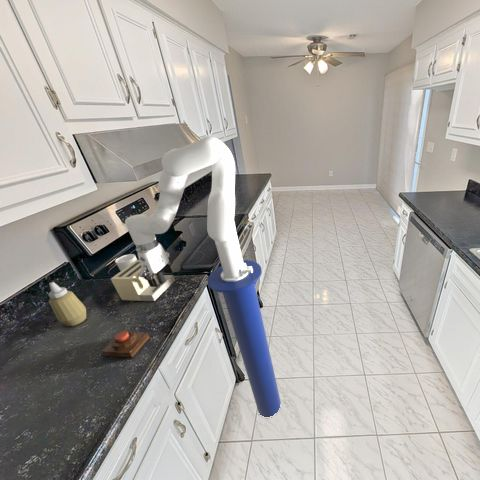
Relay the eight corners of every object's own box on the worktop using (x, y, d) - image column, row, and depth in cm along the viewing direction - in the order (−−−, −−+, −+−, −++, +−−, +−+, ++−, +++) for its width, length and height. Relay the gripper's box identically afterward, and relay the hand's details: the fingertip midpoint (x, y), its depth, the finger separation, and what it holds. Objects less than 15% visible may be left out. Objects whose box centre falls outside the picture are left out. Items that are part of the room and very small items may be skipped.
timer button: (132, 334, 84) (130, 330, 83) (123, 343, 81) (121, 339, 80) (122, 334, 84) (120, 330, 83) (113, 342, 81) (111, 339, 80)
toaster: (175, 280, 116) (167, 260, 111) (154, 301, 104) (144, 279, 99) (145, 280, 118) (136, 259, 113) (121, 300, 106) (110, 278, 101)
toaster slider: (167, 279, 111) (163, 270, 109) (163, 283, 109) (159, 274, 107) (161, 279, 112) (157, 270, 109) (157, 283, 109) (153, 274, 107)
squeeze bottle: (74, 314, 100) (49, 277, 92) (95, 312, 100) (72, 275, 92) (57, 330, 93) (28, 291, 84) (79, 328, 93) (53, 289, 85)
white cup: (146, 273, 123) (138, 255, 119) (130, 282, 117) (121, 264, 113) (136, 270, 127) (128, 252, 122) (120, 279, 120) (111, 261, 116)
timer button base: (149, 337, 87) (145, 328, 85) (132, 357, 80) (127, 348, 78) (123, 336, 88) (118, 327, 86) (104, 356, 81) (98, 347, 79)
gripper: (140, 256, 94) (156, 292, 102) (169, 235, 109) (181, 268, 117) (121, 256, 95) (139, 292, 103) (153, 235, 110) (166, 268, 118)
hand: (162, 279), depth 110 cm, fingers open, 9 cm apart
